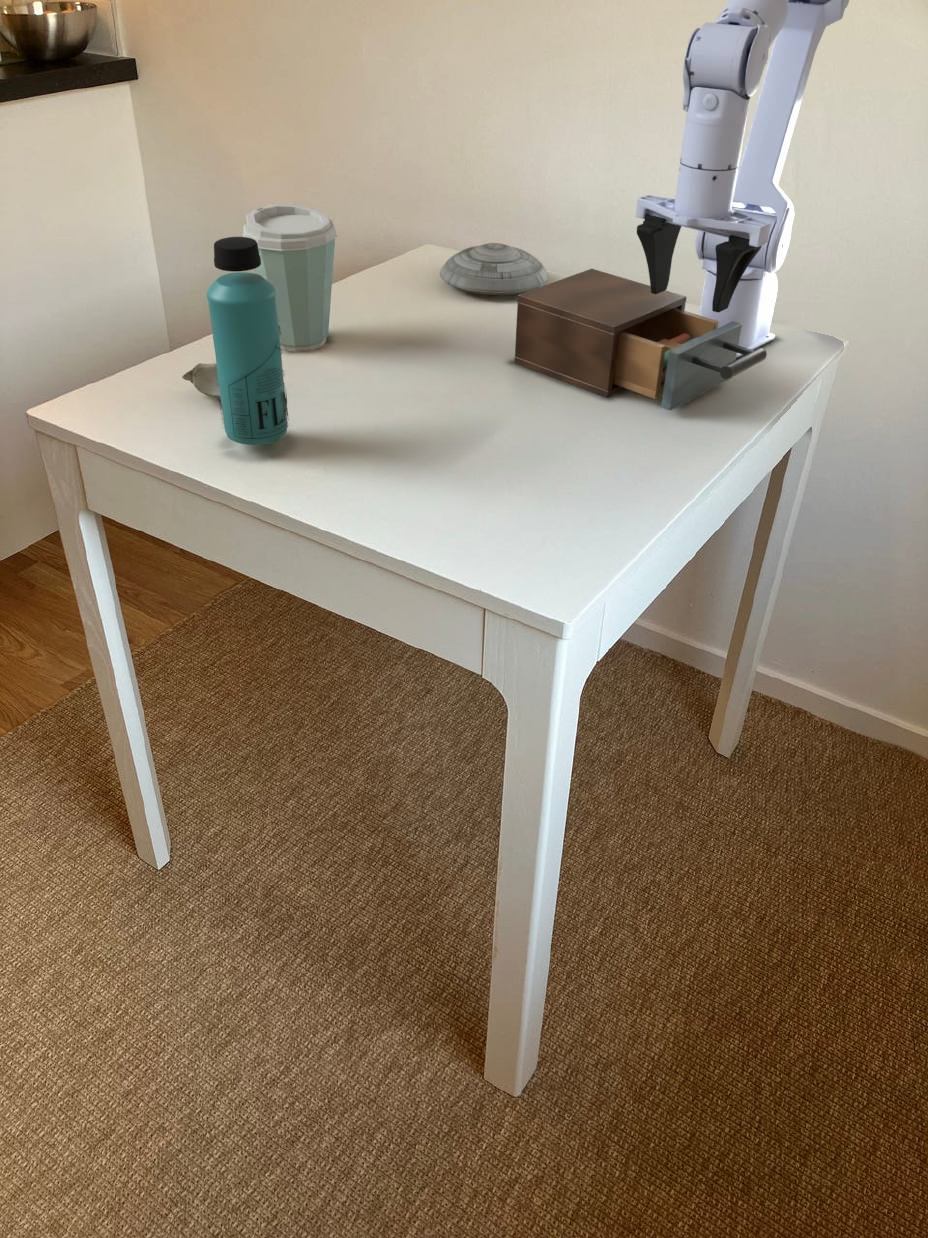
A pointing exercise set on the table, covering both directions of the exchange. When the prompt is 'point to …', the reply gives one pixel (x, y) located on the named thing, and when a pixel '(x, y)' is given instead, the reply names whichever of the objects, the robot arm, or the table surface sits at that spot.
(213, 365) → the seashell
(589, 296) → the cabinet
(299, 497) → the table surface
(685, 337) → the teal and pink cylinders
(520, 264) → the flying saucer
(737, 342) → the drawer
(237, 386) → the beverage bottle
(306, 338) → the disposable coffee cup
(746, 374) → the table surface
